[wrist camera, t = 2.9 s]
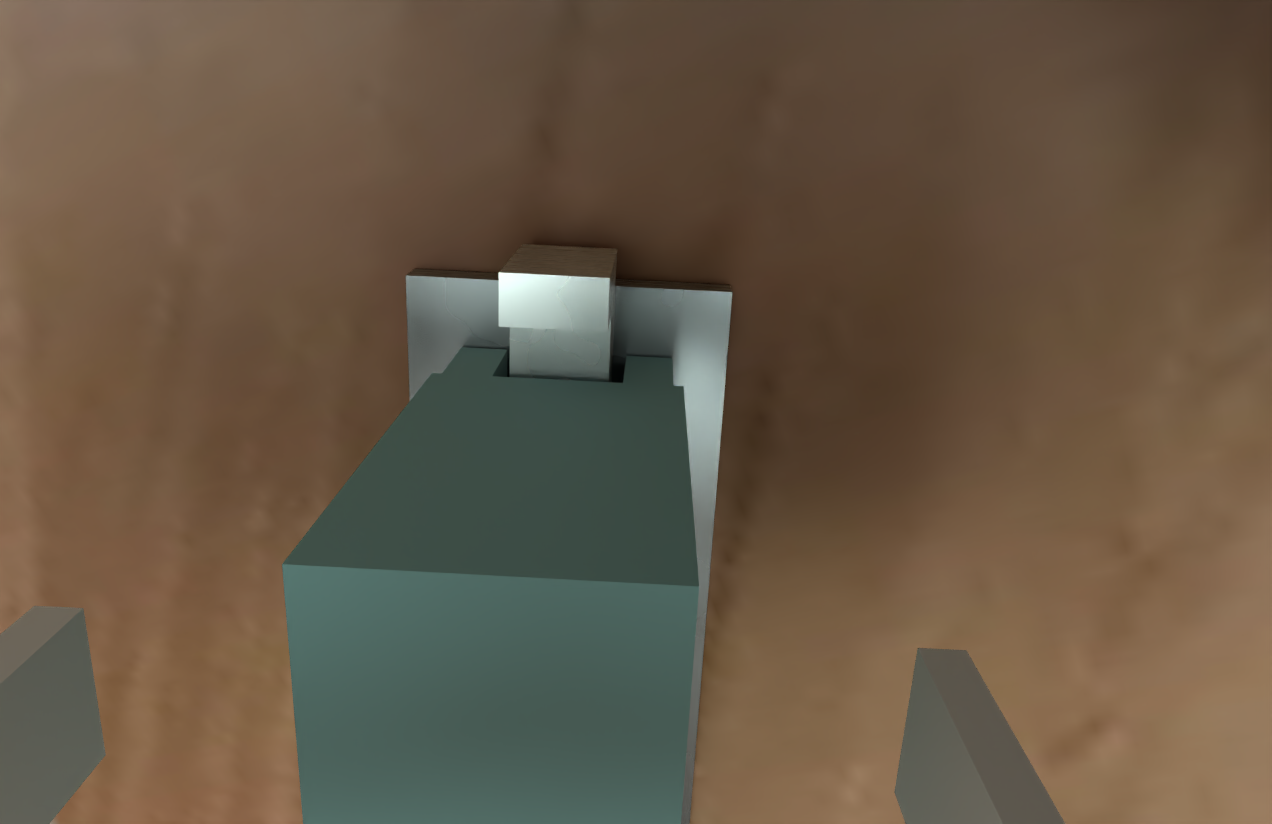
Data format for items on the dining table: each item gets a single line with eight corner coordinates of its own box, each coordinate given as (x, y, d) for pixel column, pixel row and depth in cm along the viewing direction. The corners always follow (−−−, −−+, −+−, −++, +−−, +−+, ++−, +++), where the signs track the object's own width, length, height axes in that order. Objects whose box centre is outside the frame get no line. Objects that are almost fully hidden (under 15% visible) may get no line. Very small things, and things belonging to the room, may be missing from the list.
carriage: (452, 346, 21) (282, 563, 12) (681, 358, 21) (699, 586, 11) (456, 626, 23) (317, 1000, 14) (663, 637, 23) (666, 1019, 14)
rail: (413, 232, 21) (359, 265, 17) (732, 248, 21) (748, 285, 17) (434, 974, 28) (399, 1113, 24) (673, 988, 28) (675, 1129, 24)
